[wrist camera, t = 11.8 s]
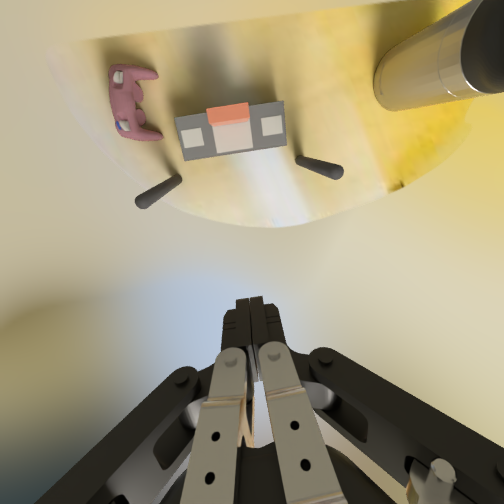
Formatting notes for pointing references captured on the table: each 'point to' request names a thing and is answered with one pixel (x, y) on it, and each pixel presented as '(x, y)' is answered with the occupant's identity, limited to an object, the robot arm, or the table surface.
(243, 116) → the block
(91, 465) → the robot arm
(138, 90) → the video game controller
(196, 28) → the table surface
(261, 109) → the breaker block
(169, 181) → the cord posts
